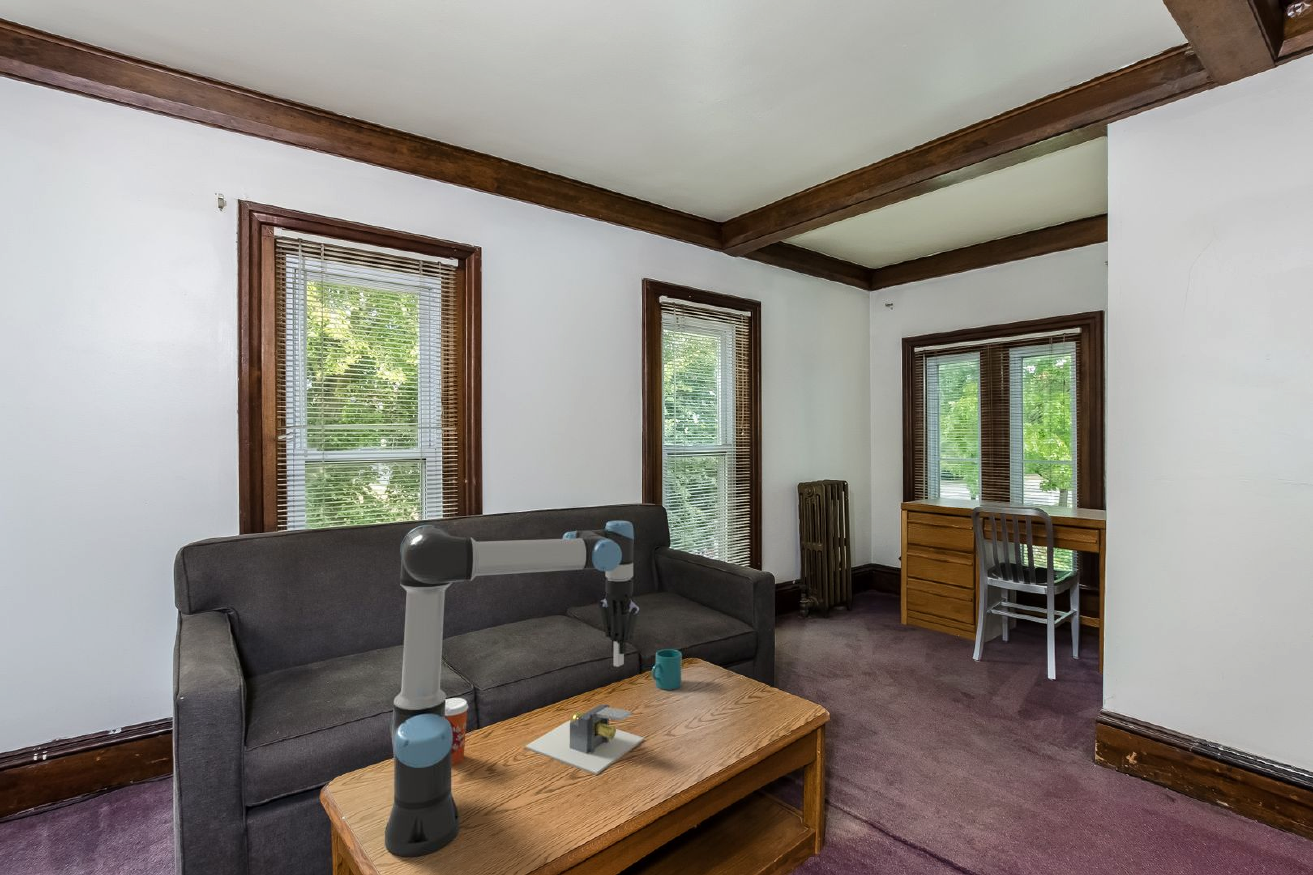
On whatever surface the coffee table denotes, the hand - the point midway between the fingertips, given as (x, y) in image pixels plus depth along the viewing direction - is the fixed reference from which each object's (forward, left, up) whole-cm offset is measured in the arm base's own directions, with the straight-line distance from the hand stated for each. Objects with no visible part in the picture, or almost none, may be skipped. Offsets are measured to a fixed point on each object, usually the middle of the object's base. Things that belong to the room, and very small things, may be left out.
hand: (618, 664), depth 167 cm
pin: (0, +8, -22) cm, 23 cm away
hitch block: (0, +10, -25) cm, 26 cm away
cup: (+47, +14, -25) cm, 55 cm away
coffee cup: (-26, +36, -25) cm, 51 cm away
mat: (0, +11, -25) cm, 27 cm away
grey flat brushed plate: (0, +6, -14) cm, 15 cm away
